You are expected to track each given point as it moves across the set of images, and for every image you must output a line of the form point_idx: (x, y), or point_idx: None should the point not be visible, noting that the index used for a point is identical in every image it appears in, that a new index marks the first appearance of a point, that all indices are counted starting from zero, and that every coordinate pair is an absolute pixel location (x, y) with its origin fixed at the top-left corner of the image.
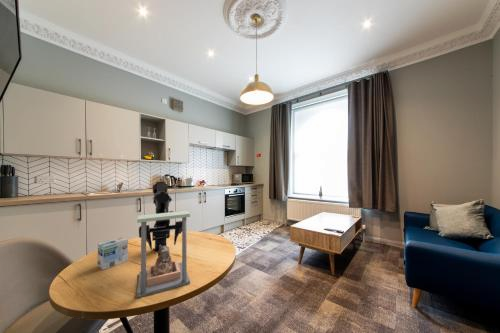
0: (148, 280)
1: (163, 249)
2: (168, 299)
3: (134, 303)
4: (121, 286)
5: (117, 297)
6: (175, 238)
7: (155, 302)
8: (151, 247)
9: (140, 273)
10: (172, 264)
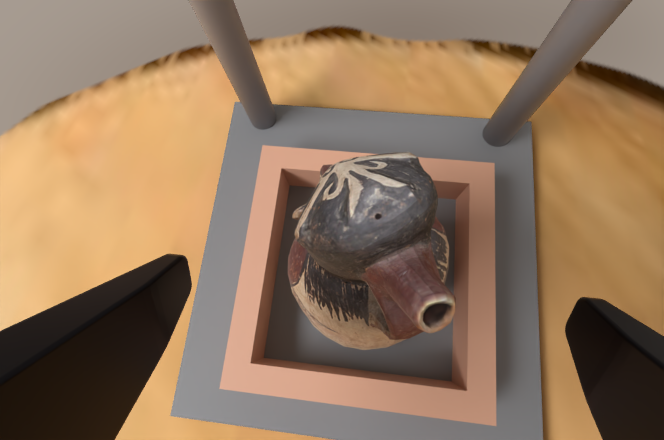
0: (481, 164)
1: (387, 162)
2: (372, 42)
3: None
4: None
5: (633, 198)
6: (90, 302)
7: (431, 51)
8: (593, 303)
9: (534, 421)
10: (274, 363)
